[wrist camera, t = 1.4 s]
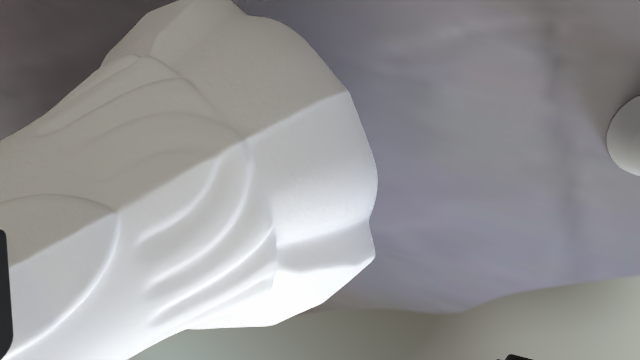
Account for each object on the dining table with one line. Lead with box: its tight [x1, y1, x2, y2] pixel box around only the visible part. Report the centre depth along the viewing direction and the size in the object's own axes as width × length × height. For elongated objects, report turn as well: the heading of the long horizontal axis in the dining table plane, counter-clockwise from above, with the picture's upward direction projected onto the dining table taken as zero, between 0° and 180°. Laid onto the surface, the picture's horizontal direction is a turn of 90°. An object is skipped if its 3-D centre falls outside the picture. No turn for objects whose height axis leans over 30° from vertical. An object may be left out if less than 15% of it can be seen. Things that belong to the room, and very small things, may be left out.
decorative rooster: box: [0, 0, 378, 360], centre depth 27 cm, size 25×16×25 cm
